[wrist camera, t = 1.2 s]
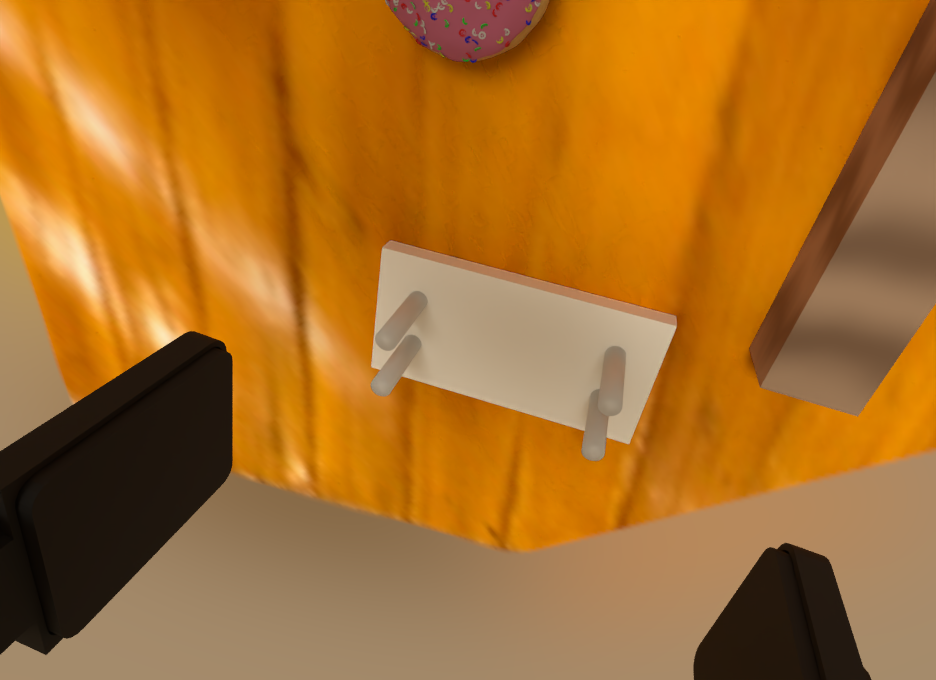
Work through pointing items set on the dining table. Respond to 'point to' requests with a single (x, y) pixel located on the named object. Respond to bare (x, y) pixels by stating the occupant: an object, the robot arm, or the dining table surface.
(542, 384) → the peg stand
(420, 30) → the cupcake
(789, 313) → the wooden block
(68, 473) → the robot arm
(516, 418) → the dining table surface
